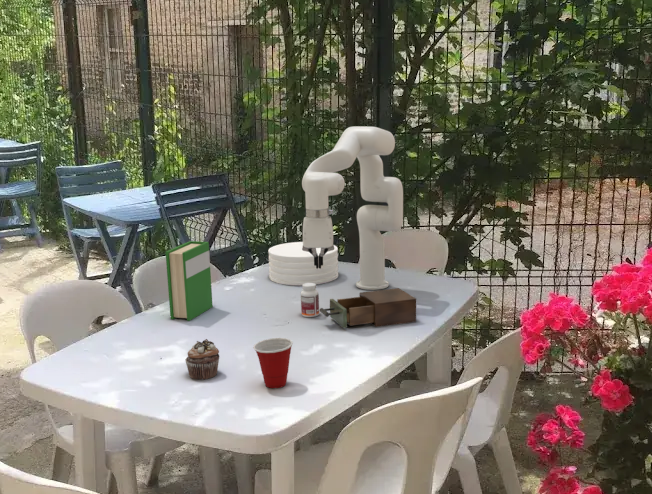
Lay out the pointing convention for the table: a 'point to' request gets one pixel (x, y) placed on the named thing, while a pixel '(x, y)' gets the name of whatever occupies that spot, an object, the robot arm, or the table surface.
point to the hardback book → (189, 280)
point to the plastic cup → (274, 360)
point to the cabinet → (391, 306)
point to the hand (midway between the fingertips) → (318, 267)
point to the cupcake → (203, 360)
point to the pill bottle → (309, 300)
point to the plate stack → (300, 265)
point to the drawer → (351, 311)
